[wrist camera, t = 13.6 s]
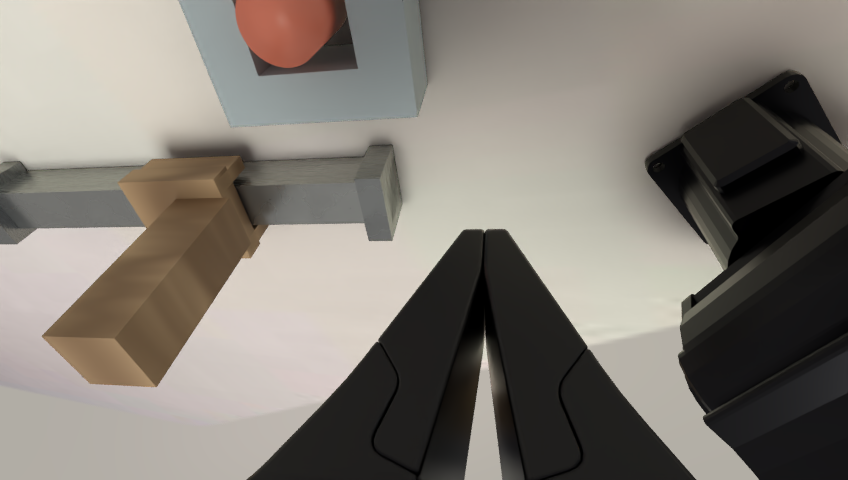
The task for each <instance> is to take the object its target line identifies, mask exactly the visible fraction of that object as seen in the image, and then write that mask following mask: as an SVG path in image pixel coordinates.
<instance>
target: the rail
mask: <svg viewBox="0 0 848 480" xmlns="http://www.w3.org/2000/svg"><path fill="white" fill-rule="evenodd" d="M243 164H244V166H245V168H244V170H243V171H242V172H241V173H240V174H239V175H238V177H237V178H236V179H235V180H234V181H233V184H234V186H235V188H236V191H237V193H238V195H239V197H240V200H241V202H242V204H243V206H244V209H245V211H246V213H247V215H248V218H249V220H250V222H251V224H252V225H278V224H342V223H365V227H366V231H367V235H368V239H369V241H392V240H393V236H394V232H395V229H396V225H397V222H398V218H399V214H400V211H401V207H402V200H401V194H400V188H399V182H398V176H397V170H396V164H395V158H394V152H393V146H392V145H382V146H369V148H368V150H367V152H366V154H365V156H364V157H350V158H325V159H301V160H277V161H252V162H243ZM142 167H143V166H130V167H105V168H81V169H57V170H32V171H27V170H26V169H25V168H24V166H23V165H22V164H21V162H3V163H1V164H0V244H18V243H19V242H20V241H22V240H23V239H24V238H26V237H27V236H28V235H30V234H31V233H32V232H33V231H35V230H36V229H37V228H88V227H145V225H144V224H143V222H142V221H141V219H140V218H139V216H138V214H137V213H136V211H135V210H134V208H133V207H132V205H131V203H130V202H129V200H128V199H127V197H126V196H125V194H124V192H123V191H122V189H121V188H120V186H119V185H118V182H119V181H120V180H121V179H122V178H124V177H125V176H126V175H127V174H129V173H130V172H131V171H132V170H140V169H141V168H142Z"/></svg>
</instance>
